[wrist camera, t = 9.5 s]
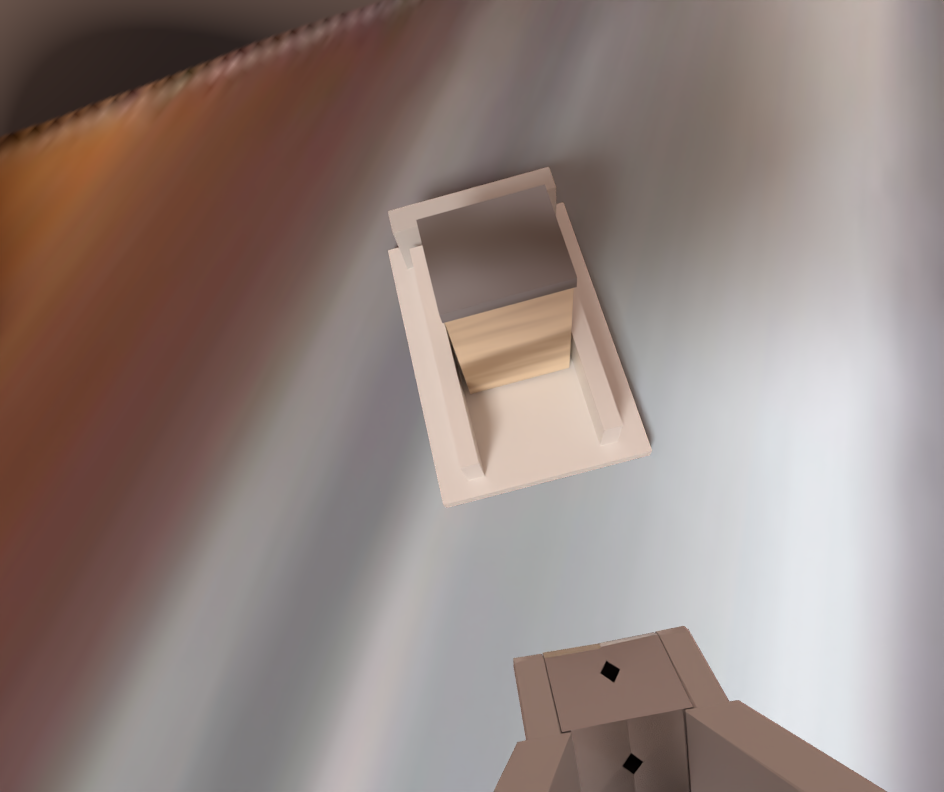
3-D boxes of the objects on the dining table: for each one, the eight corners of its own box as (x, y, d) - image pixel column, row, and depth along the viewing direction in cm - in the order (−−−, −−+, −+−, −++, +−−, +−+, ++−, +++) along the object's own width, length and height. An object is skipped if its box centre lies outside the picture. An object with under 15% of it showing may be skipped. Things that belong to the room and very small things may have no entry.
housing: (649, 455, 35) (663, 429, 31) (446, 508, 36) (430, 490, 31) (563, 211, 42) (564, 159, 37) (391, 258, 42) (371, 213, 37)
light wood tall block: (571, 368, 36) (577, 277, 27) (469, 396, 37) (439, 314, 27) (547, 294, 38) (544, 184, 29) (450, 320, 38) (416, 219, 29)
